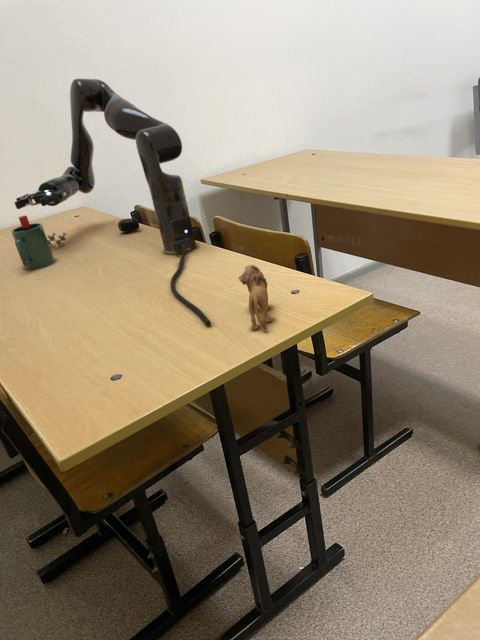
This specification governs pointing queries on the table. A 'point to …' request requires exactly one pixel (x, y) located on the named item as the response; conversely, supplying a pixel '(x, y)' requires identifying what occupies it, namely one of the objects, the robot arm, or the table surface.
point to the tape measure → (128, 225)
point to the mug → (33, 246)
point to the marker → (24, 223)
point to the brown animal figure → (256, 293)
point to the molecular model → (57, 240)
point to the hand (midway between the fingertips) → (29, 204)
